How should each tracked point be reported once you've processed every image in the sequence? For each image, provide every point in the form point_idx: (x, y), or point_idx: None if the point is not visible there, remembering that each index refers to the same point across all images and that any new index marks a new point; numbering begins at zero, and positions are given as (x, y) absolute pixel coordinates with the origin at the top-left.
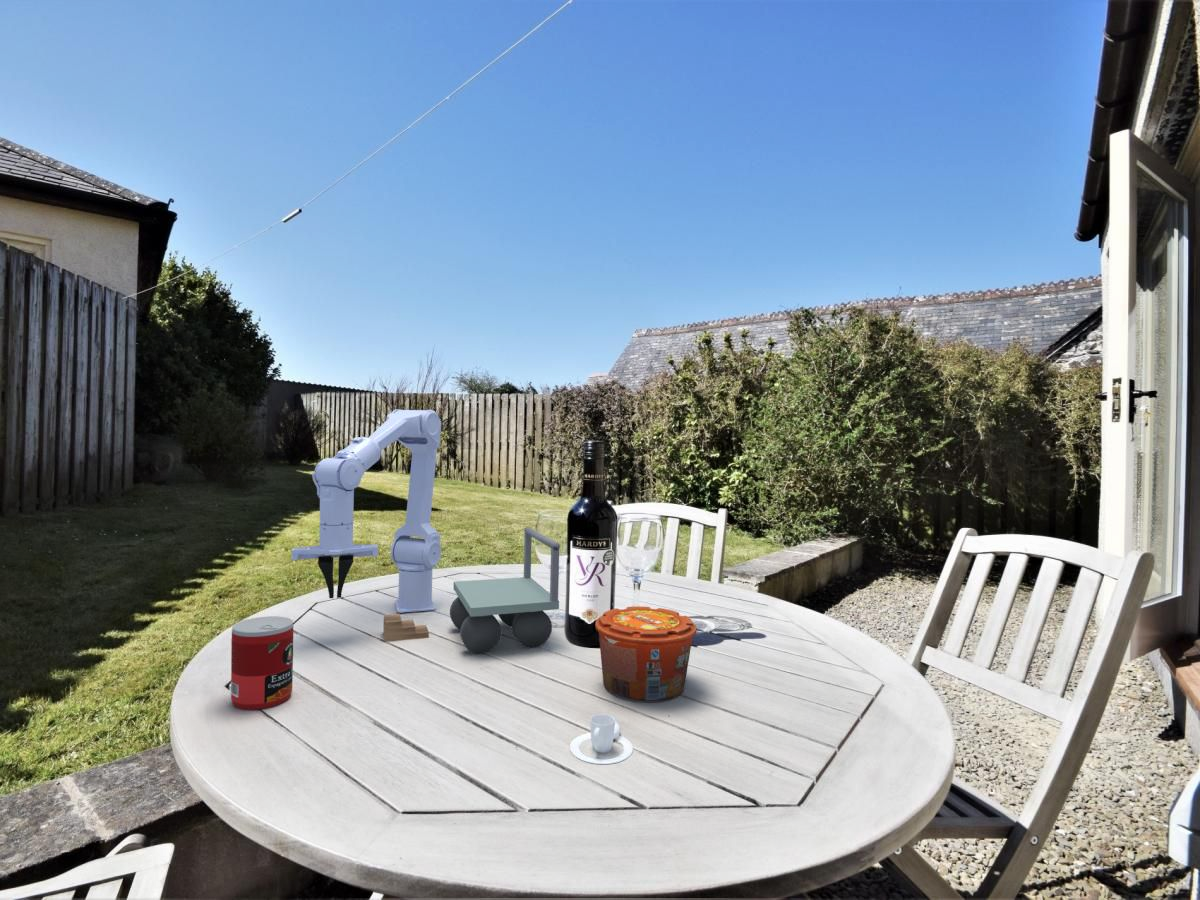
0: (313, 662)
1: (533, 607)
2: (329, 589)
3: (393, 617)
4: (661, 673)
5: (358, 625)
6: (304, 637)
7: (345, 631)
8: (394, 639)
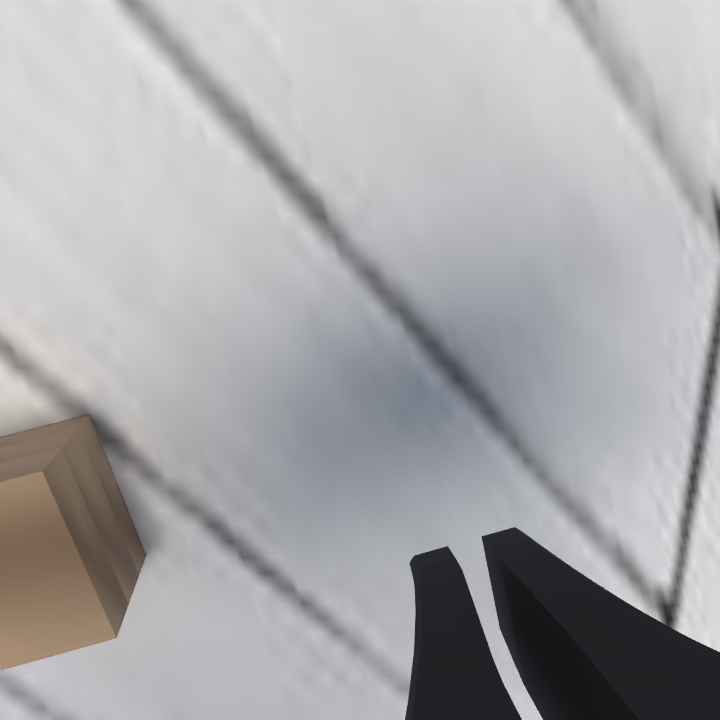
0: (420, 53)
1: None
2: (561, 571)
3: (18, 589)
4: None
5: (332, 674)
6: (568, 488)
7: (376, 582)
8: (24, 432)
